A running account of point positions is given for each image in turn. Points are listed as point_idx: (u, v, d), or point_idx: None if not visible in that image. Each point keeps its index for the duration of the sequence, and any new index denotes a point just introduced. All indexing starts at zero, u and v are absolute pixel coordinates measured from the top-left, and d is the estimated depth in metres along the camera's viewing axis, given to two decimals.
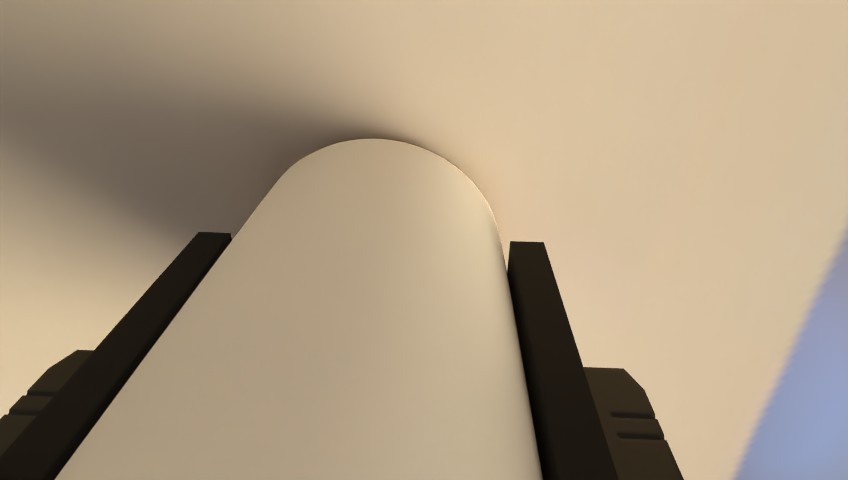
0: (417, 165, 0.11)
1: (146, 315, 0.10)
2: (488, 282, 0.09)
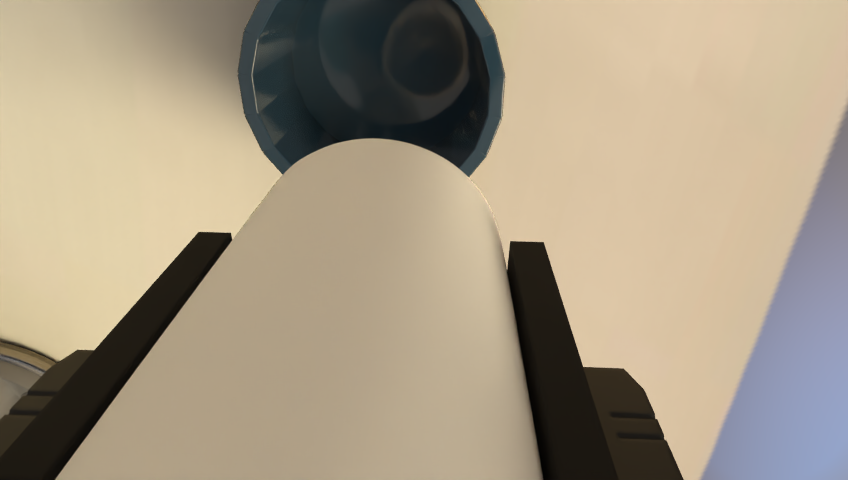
0: (418, 165, 0.11)
1: (146, 315, 0.10)
2: (489, 281, 0.09)
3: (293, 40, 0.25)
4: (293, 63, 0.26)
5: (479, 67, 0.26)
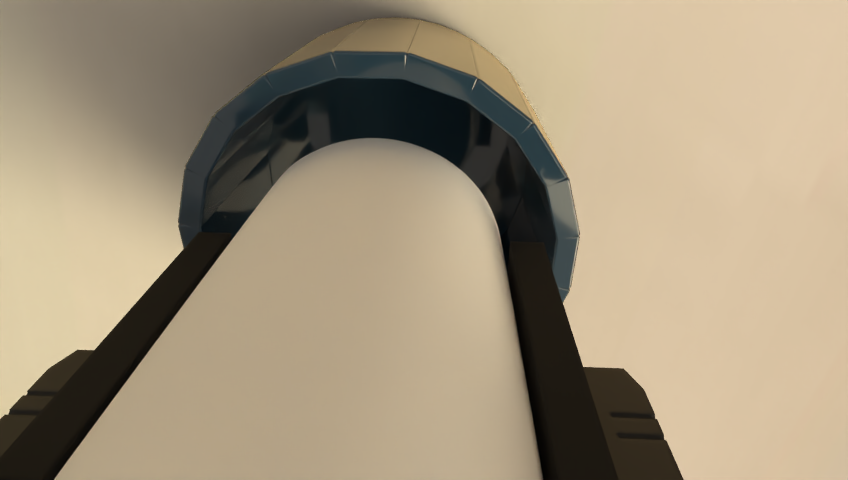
0: (417, 165, 0.11)
1: (146, 315, 0.10)
2: (489, 281, 0.09)
3: (269, 140, 0.19)
4: (269, 168, 0.19)
5: (522, 177, 0.19)
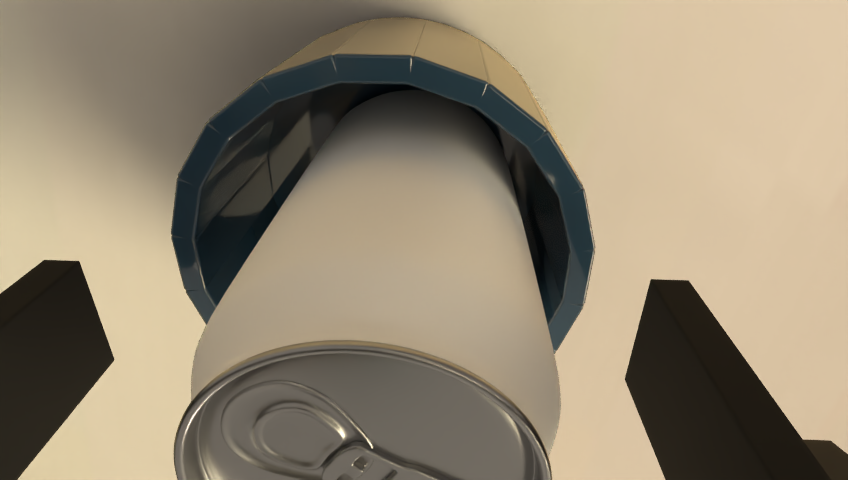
0: (447, 106, 0.15)
1: None
2: (501, 178, 0.13)
3: (269, 144, 0.18)
4: (269, 173, 0.18)
5: (532, 184, 0.18)
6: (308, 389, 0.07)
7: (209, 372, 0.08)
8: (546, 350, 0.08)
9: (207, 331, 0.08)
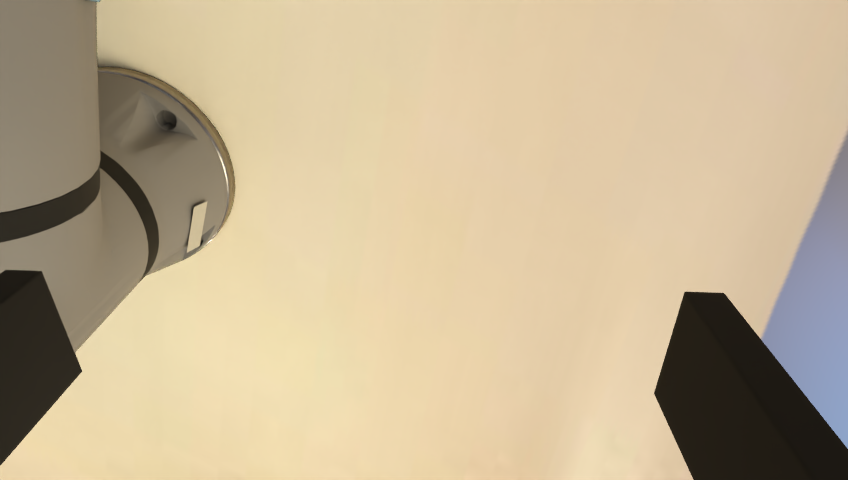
0: None
1: None
2: None
3: None
4: None
5: None
6: None
7: None
8: None
9: None
